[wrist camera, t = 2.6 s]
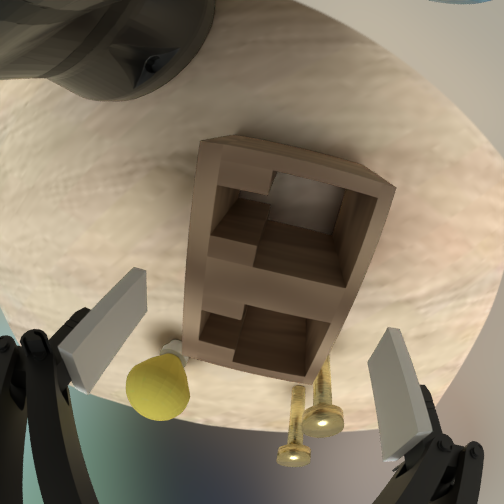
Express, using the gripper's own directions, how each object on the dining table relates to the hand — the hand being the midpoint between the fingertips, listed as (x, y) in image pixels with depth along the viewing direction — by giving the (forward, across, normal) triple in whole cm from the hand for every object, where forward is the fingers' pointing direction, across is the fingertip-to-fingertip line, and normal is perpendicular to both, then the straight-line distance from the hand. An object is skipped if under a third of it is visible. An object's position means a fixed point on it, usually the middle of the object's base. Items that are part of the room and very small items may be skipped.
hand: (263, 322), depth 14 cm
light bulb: (+11, -8, -16) cm, 21 cm away
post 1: (+11, +7, -18) cm, 22 cm away
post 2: (+11, +7, -10) cm, 16 cm away
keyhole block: (+10, 0, 0) cm, 10 cm away
